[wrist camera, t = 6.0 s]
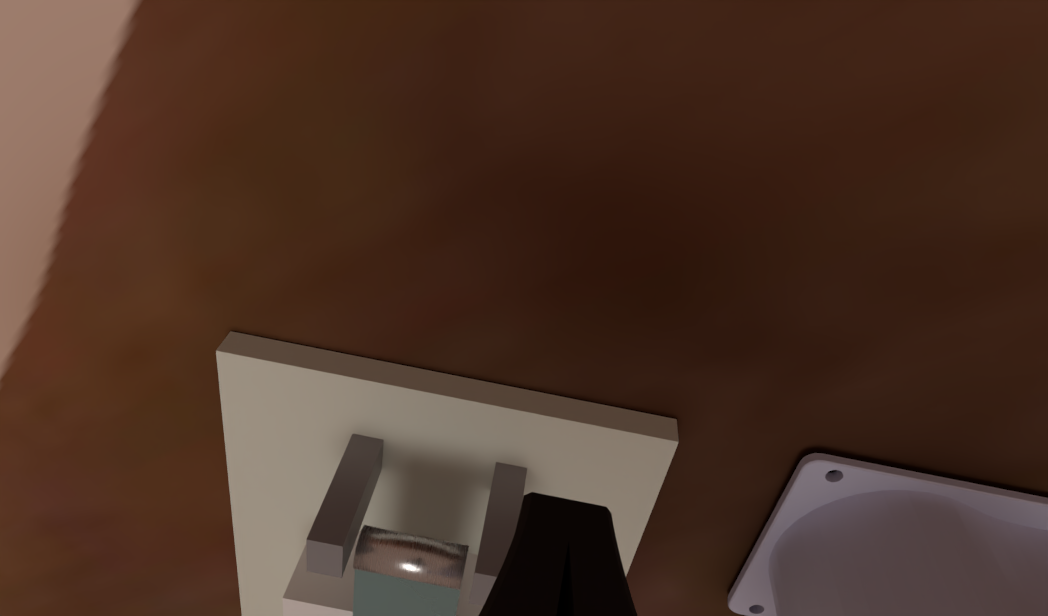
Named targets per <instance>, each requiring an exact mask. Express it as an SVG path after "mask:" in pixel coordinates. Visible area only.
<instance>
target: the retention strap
mask: <svg viewBox="0 0 1048 616" xmlns="http://www.w3.org/2000/svg"><path fill="white" fill-rule="evenodd" d="M468 548H469V545H464V544H459V543H454V542H449V541H444V540H439V539H434V538H428V537H423V536H418V535H413V534H408V533H403V532H398V531H393V530H388V529H383V528H378V527H373V526H368V525H364V526H363V528H362V530H361V533H360V535H359V539H358V542H357V546H356V550H355V555H354V561H353V569H355V575H354V597H353V616H456V612H457V607H458V601H459V596H460V591H461V585H462V580H463V575H464V569H465V564H466V559H467V554H468Z"/></svg>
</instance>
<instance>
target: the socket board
mask: <svg viewBox="0 0 1048 616" xmlns="http://www.w3.org/2000/svg"><path fill="white" fill-rule="evenodd" d="M216 357H217V367H218V377H219V387H220V397H221V408H222V418H223V428H224V438H225V448H226V459H227V469H228V479H229V489H230V499H231V510H232V520H233V530H234V540H235V550H236V561H237V571H238V581H239V591H240V601H241V612H242V616H353V597H354V575H355V569H353V561H354V555H355V550H356V546H357V542H358V539H359V535H360V533H361V530H362V528H363V526H364V525H368V526H373V527H378V528H383V529H388V530H393V531H398V532H403V533H408V534H413V535H418V536H423V537H428V538H434V539H439V540H444V541H449V542H454V543H459V544H464V545H469V548H468V554H467V559H466V564H465V569H464V575H463V580H462V585H461V591H460V596H459V601H458V607H457V612H456V616H478V615H479V614H480V612H481V610H482V608H483V606H484V604H485V602H486V600H487V597H488V595H489V593H490V591H491V589H492V587H493V584H494V582H495V580H496V578H497V576H498V574H499V572H500V569H501V567H502V565H503V563H504V560H505V558H506V555H507V553H508V550H509V548H510V545H511V543H512V540H513V537H514V534H515V530H516V526H517V522H518V518H519V514H520V509H521V505H522V501H523V497H524V495H526V494H528V493H531V492H535V493H540V494H545V495H550V496H555V497H560V498H565V499H570V500H575V501H580V502H585V503H590V504H595V505H601V506H606V507H607V508H608V509H609V511H610V512H611V514H612V520H613V526H614V531H615V536H616V540H617V545H618V549H619V553H620V557H621V561H622V565H623V569H624V573H625V576H626V575H627V572H628V570H629V567H630V565H631V562H632V560H633V557H634V555H635V552H636V550H637V547H638V544H639V542H640V539H641V537H642V534H643V532H644V529H645V527H646V524H647V522H648V519H649V516H650V514H651V511H652V509H653V506H654V504H655V501H656V499H657V496H658V494H659V491H660V488H661V486H662V483H663V481H664V478H665V476H666V473H667V471H668V468H669V466H670V463H671V460H672V458H673V455H674V453H675V450H676V448H677V445H678V443H679V439H678V429H677V419H673V418H668V417H663V416H658V415H653V414H648V413H643V412H638V411H633V410H627V409H622V408H617V407H612V406H607V405H602V404H597V403H592V402H587V401H582V400H577V399H572V398H567V397H562V396H557V395H551V394H546V393H541V392H536V391H531V390H526V389H521V388H516V387H511V386H506V385H501V384H496V383H491V382H486V381H481V380H475V379H470V378H465V377H460V376H455V375H450V374H445V373H440V372H435V371H430V370H425V369H420V368H415V367H410V366H405V365H399V364H394V363H389V362H384V361H379V360H374V359H369V358H364V357H359V356H354V355H349V354H344V353H339V352H334V351H329V350H323V349H318V348H313V347H308V346H303V345H298V344H293V343H288V342H283V341H278V340H273V339H268V338H263V337H258V336H253V335H247V334H242V333H237V332H232V331H230V333H229V334H228V335H227V337H226V338H225V339H224V341H223V342H222V343H221V345H220V346H219V347H218V349H217V350H216Z"/></svg>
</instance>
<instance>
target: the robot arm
mask: <svg viewBox="0 0 1048 616" xmlns="http://www.w3.org/2000/svg"><path fill="white" fill-rule="evenodd" d="M832 470H837V471H836V472H833V473H828V472H829V471H832ZM727 599H728V606H729V608H730V610H732V611H733V612H735V613H738V614H742V615H747V616H1048V498H1046V497H1041V496H1036V495H1031V494H1025V493H1020V492H1015V491H1010V490H1005V489H1000V488H995V487H990V486H985V485H980V484H975V483H970V482H965V481H960V480H955V479H949V478H944V477H939V476H934V475H929V474H924V473H919V472H914V471H909V470H904V469H899V468H894V467H889V466H884V465H879V464H873V463H868V462H863V461H858V460H853V459H848V458H843V457H838V456H833V455H828V454H823V453H813V454H809V455H807V456H805V457H803V458H802V459H801V461H800V462H799V464H798V466H797V468H796V469H795V471H794V473H793V475H792V477H791V479H790V481H789V482H788V484H787V486H786V488H785V490H784V492H783V494H782V496H781V497H780V499H779V501H778V503H777V505H776V507H775V509H774V511H773V512H772V514H771V516H770V518H769V520H768V522H767V524H766V525H765V527H764V529H763V531H762V533H761V535H760V537H759V539H758V540H757V542H756V544H755V546H754V548H753V550H752V552H751V554H750V555H749V557H748V559H747V561H746V563H745V565H744V567H743V568H742V570H741V572H740V574H739V576H738V578H737V580H736V582H735V583H734V585H733V587H732V589H731V591H730V593H729V595H728V598H727ZM478 616H637V613H636V610H635V607H634V604H633V601H632V597H631V594H630V591H629V587H628V584H627V580H626V576H625V573H624V569H623V565H622V561H621V557H620V553H619V549H618V545H617V540H616V536H615V531H614V526H613V520H612V514H611V512H610V511H609V509H608V508H607V507H606V506H601V505H595V504H590V503H585V502H580V501H575V500H570V499H565V498H560V497H555V496H550V495H545V494H540V493H535V492H531V493H528V494H526V495H524V497H523V501H522V505H521V509H520V514H519V518H518V522H517V526H516V530H515V534H514V537H513V540H512V543H511V545H510V548H509V550H508V553H507V555H506V558H505V560H504V563H503V565H502V567H501V569H500V572H499V574H498V576H497V578H496V580H495V582H494V584H493V587H492V589H491V591H490V593H489V595H488V597H487V600H486V602H485V604H484V606H483V608H482V610H481V612H480V614H479V615H478Z"/></svg>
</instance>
